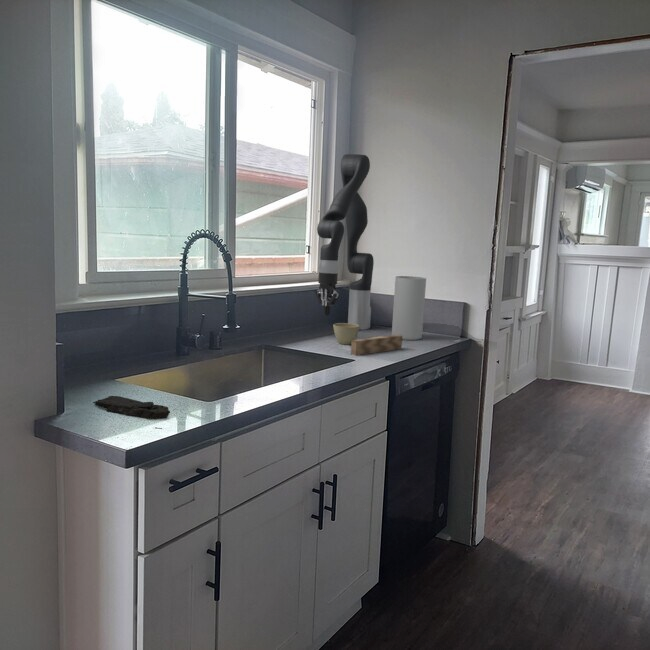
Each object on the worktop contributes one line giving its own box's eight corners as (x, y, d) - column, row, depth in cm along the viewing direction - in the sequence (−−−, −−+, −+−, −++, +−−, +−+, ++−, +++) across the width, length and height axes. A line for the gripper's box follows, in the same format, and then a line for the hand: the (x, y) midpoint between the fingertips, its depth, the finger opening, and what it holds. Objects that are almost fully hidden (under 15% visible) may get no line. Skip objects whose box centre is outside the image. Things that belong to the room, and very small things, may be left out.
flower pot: (363, 344, 240) (364, 325, 239) (346, 346, 233) (347, 328, 232) (344, 339, 247) (345, 322, 246) (327, 342, 240) (327, 324, 239)
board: (396, 347, 236) (397, 334, 235) (401, 348, 234) (402, 335, 233) (350, 354, 220) (351, 339, 220) (355, 355, 219) (356, 340, 218)
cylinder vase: (389, 334, 265) (393, 275, 260) (418, 335, 265) (423, 276, 261) (393, 339, 252) (398, 278, 248) (424, 341, 253) (429, 279, 249)
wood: (83, 407, 148) (82, 394, 147) (107, 400, 154) (107, 387, 154) (153, 426, 137) (153, 412, 137) (176, 417, 144) (176, 404, 143)
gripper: (346, 273, 242) (344, 317, 245) (324, 270, 252) (322, 312, 254) (332, 273, 237) (329, 318, 240) (310, 270, 247) (308, 313, 249)
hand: (325, 315), depth 247 cm, fingers closed
